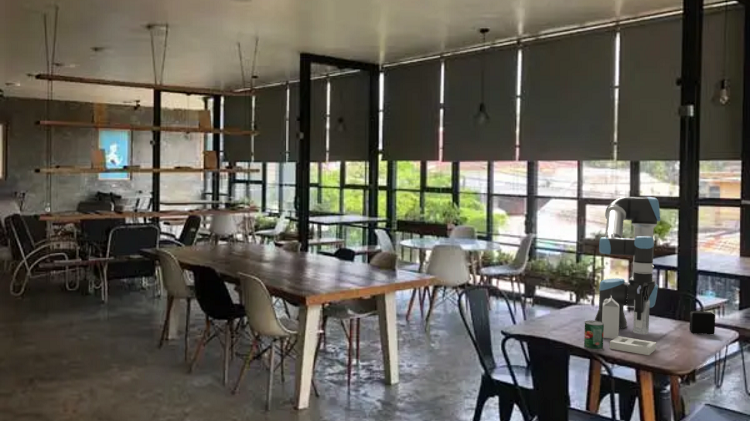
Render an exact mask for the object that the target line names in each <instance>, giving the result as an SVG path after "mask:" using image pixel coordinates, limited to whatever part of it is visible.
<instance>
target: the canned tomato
mask: <svg viewBox="0 0 750 421" xmlns="http://www.w3.org/2000/svg"><path fill="white" fill-rule="evenodd" d="M603 334H604V323H603V322H600V321H595V320H591V319H590V320H585V321H584V336H583V337H584V338H583V341H584V342H583V343H584V345H583V347H584V348H585V349H588V350H592V351H601V350H603V349H604V338H603Z"/></svg>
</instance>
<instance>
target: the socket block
mask: <svg viewBox="0 0 750 421" xmlns="http://www.w3.org/2000/svg"><path fill="white" fill-rule="evenodd" d="M609 349H610V350H611V349H612V350H617V351H621V352H622V351H623V352H629V353H633V354H638V355H639V354H640V355H645V356H650V355H651V354H653V352H655V351H656V350H657V341H649V340H643V339H640V338H639V339H638V338H631V337H628V336H627V337H626V336H619V335H618V337H616V338H615V339H612V340H610V341H609Z"/></svg>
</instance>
